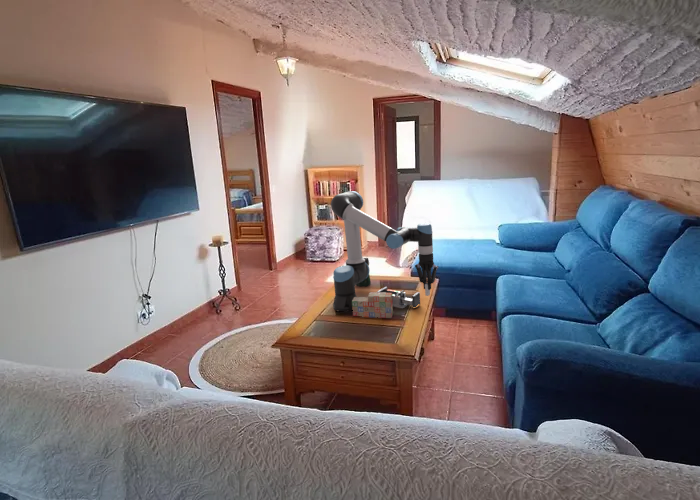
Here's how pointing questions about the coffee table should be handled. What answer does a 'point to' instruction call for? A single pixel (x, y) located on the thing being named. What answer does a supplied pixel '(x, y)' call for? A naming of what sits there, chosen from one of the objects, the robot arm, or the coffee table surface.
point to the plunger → (409, 301)
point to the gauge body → (395, 297)
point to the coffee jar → (367, 280)
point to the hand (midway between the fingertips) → (427, 294)
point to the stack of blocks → (373, 305)
